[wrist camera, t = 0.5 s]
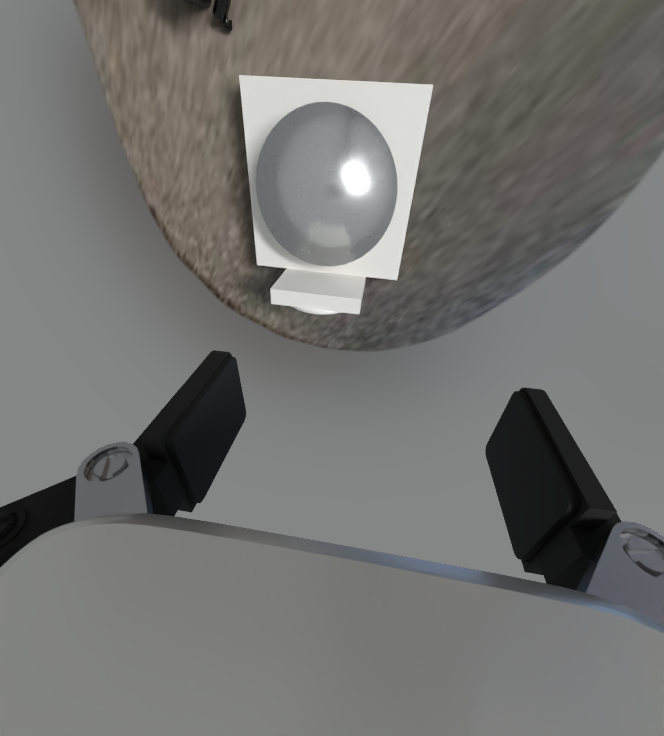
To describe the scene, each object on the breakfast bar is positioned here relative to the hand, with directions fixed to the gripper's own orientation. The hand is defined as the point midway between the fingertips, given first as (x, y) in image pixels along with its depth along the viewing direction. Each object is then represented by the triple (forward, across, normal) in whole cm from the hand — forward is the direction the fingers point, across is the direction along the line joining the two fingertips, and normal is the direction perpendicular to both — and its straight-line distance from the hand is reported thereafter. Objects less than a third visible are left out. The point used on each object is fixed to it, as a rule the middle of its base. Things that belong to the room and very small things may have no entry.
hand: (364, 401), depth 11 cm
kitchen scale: (+28, +6, -2) cm, 29 cm away
